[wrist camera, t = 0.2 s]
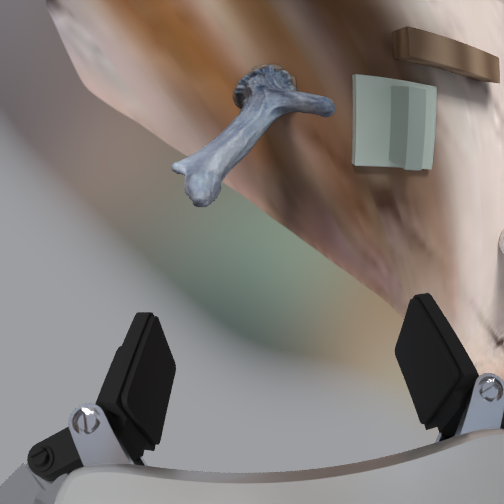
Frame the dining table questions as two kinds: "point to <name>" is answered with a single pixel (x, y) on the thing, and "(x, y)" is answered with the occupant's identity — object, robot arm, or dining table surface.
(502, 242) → the water bottle
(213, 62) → the dining table surface
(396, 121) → the block
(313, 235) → the dining table surface
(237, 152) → the antler
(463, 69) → the walnut bar
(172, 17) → the dining table surface
